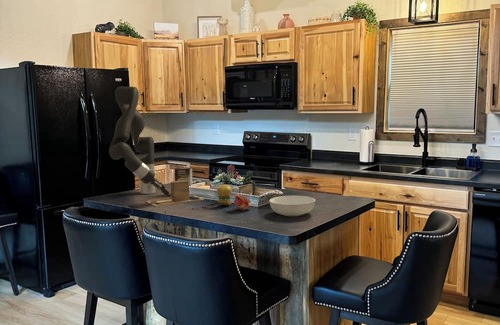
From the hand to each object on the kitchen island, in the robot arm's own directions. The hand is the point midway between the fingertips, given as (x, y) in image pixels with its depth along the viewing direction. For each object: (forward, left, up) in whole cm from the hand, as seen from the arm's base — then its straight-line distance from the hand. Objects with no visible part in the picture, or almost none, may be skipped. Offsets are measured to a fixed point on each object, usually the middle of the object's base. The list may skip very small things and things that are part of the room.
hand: (167, 194), depth 233 cm
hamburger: (+20, +23, -6) cm, 31 cm away
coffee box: (-18, +17, -6) cm, 25 cm away
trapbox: (0, +4, -5) cm, 7 cm away
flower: (+33, +26, -6) cm, 42 cm away
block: (0, +7, -4) cm, 8 cm away
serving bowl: (+54, +40, -6) cm, 67 cm away
